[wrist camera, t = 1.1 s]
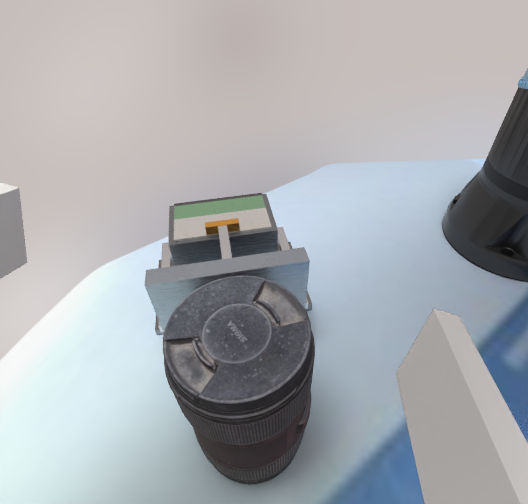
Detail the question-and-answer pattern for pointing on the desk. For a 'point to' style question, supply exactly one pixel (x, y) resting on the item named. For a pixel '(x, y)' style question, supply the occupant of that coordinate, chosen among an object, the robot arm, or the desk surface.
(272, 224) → the grey box on baseplate
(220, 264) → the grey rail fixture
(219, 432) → the camera lens
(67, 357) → the desk surface
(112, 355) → the desk surface
